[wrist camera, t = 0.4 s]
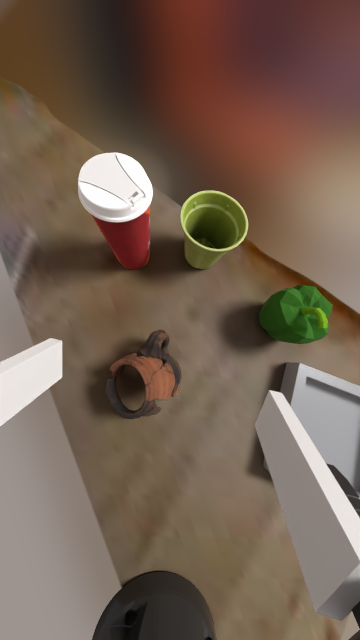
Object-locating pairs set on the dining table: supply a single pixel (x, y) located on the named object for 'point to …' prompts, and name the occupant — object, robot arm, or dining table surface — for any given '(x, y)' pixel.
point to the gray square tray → (327, 416)
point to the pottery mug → (147, 376)
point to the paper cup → (119, 205)
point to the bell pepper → (296, 315)
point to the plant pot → (211, 227)
